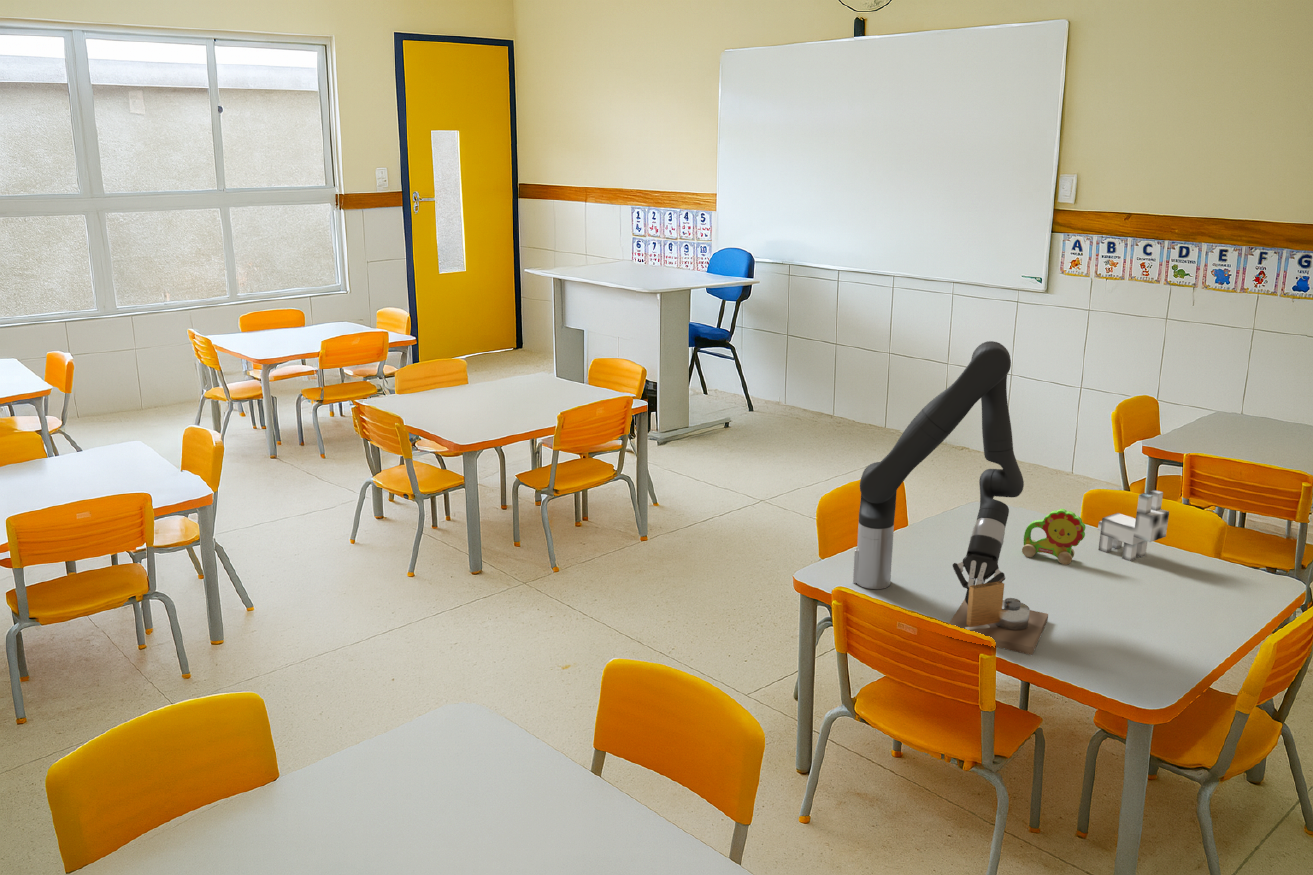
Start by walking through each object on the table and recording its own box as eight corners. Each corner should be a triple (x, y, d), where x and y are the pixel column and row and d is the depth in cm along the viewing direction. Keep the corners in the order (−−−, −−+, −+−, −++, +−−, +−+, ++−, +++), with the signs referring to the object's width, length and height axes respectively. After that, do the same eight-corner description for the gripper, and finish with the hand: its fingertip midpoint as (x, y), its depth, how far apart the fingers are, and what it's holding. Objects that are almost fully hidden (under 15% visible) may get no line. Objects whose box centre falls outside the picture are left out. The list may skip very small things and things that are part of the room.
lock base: (945, 635, 238) (945, 626, 238) (965, 603, 255) (966, 595, 254) (1032, 655, 228) (1033, 646, 228) (1047, 621, 245) (1048, 612, 244)
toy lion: (1020, 556, 285) (1025, 506, 281) (1024, 550, 289) (1030, 501, 285) (1079, 568, 276) (1085, 516, 272) (1082, 561, 281) (1088, 511, 277)
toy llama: (1106, 542, 295) (1114, 478, 289) (1162, 561, 280) (1171, 494, 275) (1090, 547, 291) (1098, 482, 285) (1146, 567, 277) (1156, 499, 271)
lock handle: (1014, 612, 244) (1018, 571, 241) (1035, 627, 237) (1039, 584, 234) (958, 622, 240) (961, 580, 237) (977, 636, 232) (981, 593, 229)
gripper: (957, 529, 245) (940, 592, 238) (1013, 539, 238) (997, 604, 231) (961, 542, 250) (944, 604, 244) (1015, 552, 244) (1000, 616, 237)
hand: (970, 604), depth 238 cm, fingers closed
